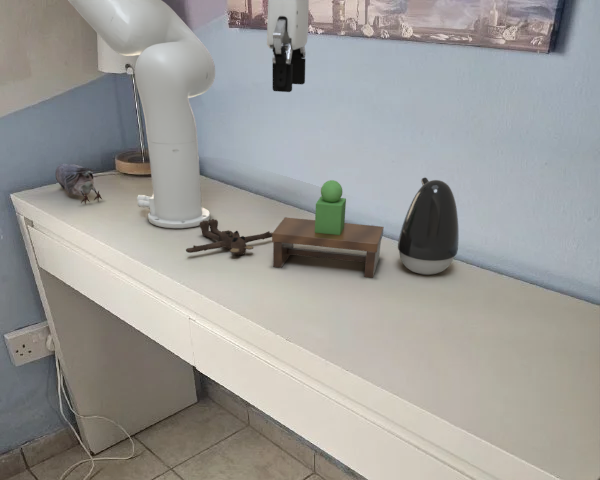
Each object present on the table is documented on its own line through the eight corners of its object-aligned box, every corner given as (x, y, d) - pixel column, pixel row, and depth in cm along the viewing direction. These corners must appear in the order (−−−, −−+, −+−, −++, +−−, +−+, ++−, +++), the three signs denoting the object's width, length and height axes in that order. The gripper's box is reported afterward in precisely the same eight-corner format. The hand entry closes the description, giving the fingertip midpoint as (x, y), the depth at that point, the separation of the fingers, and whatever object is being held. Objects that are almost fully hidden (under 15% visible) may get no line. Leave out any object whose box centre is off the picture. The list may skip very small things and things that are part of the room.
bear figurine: (248, 211, 123) (286, 225, 112) (249, 233, 125) (287, 248, 114) (163, 225, 115) (195, 242, 104) (166, 248, 117) (198, 267, 106)
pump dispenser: (439, 256, 114) (452, 171, 105) (463, 278, 105) (480, 187, 97) (386, 259, 112) (396, 173, 103) (407, 282, 103) (419, 190, 95)
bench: (271, 266, 108) (271, 233, 104) (284, 249, 115) (284, 217, 111) (374, 278, 104) (377, 243, 101) (380, 259, 112) (383, 226, 108)
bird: (73, 186, 145) (67, 154, 141) (106, 201, 136) (100, 167, 132) (51, 190, 142) (44, 157, 138) (83, 206, 133) (77, 171, 129)
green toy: (314, 232, 105) (316, 182, 100) (319, 224, 108) (321, 176, 104) (340, 235, 104) (343, 185, 99) (344, 227, 108) (347, 178, 103)
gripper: (281, -34, 103) (280, 80, 113) (251, -37, 89) (254, 93, 99) (324, -33, 102) (320, 82, 112) (302, -36, 88) (299, 96, 98)
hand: (289, 87), depth 105 cm, fingers open, 9 cm apart
